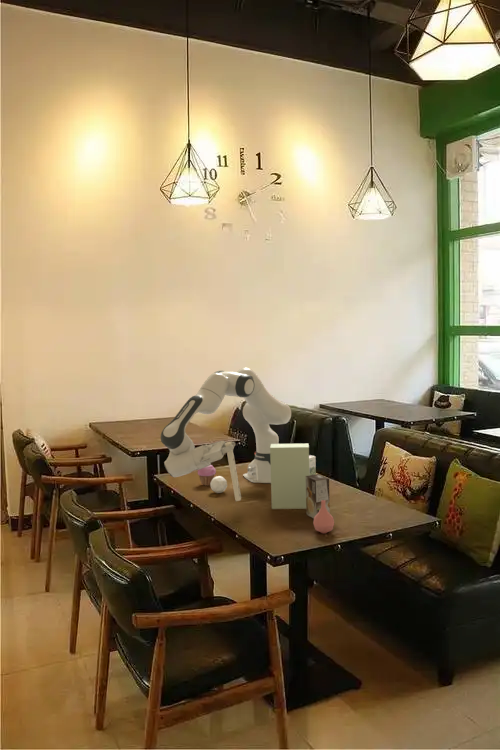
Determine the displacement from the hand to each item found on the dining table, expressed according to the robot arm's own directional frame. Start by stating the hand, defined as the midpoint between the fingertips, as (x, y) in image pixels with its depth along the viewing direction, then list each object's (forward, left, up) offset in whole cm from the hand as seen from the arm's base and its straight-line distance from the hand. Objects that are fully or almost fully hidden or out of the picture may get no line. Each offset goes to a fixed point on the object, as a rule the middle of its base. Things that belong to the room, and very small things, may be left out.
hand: (234, 445), depth 266 cm
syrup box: (-17, +49, -29) cm, 59 cm away
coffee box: (+23, +25, -29) cm, 44 cm away
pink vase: (+40, +15, -29) cm, 51 cm away
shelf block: (+5, +24, -29) cm, 38 cm away
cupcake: (-49, +12, -29) cm, 58 cm away
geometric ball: (-33, +10, -29) cm, 45 cm away
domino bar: (-1, -1, -11) cm, 11 cm away
